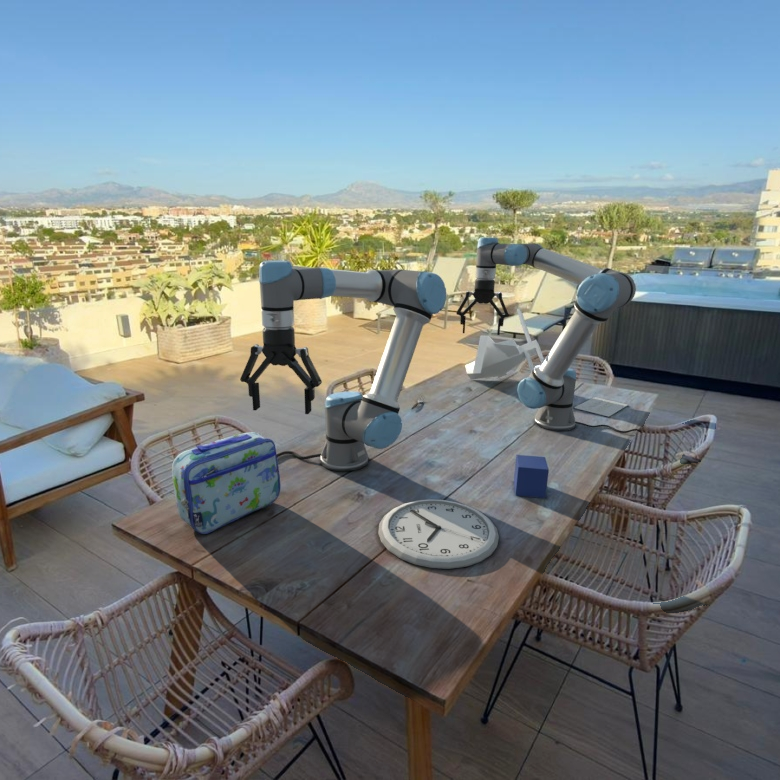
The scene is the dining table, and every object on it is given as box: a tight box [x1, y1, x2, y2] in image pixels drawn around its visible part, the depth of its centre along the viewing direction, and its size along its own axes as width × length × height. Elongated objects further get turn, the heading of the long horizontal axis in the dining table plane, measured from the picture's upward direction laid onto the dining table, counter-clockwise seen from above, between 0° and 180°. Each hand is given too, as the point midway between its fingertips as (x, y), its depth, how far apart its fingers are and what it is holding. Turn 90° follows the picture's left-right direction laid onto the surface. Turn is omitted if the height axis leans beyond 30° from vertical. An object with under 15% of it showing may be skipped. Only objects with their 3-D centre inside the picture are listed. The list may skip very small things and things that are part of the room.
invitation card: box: [573, 396, 629, 418], centre depth 226 cm, size 21×1×15 cm
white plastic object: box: [464, 308, 545, 380], centre depth 255 cm, size 37×45×31 cm
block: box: [513, 454, 550, 499], centre depth 152 cm, size 8×9×9 cm
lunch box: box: [171, 431, 281, 535], centre depth 134 cm, size 26×11×21 cm, turn 134°
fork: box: [411, 395, 426, 410], centre depth 224 cm, size 3×16×2 cm, turn 160°
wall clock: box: [377, 498, 500, 570], centre depth 131 cm, size 30×2×30 cm
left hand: (282, 410), depth 132 cm, fingers open, 13 cm apart
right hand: (480, 333), depth 207 cm, fingers open, 13 cm apart
